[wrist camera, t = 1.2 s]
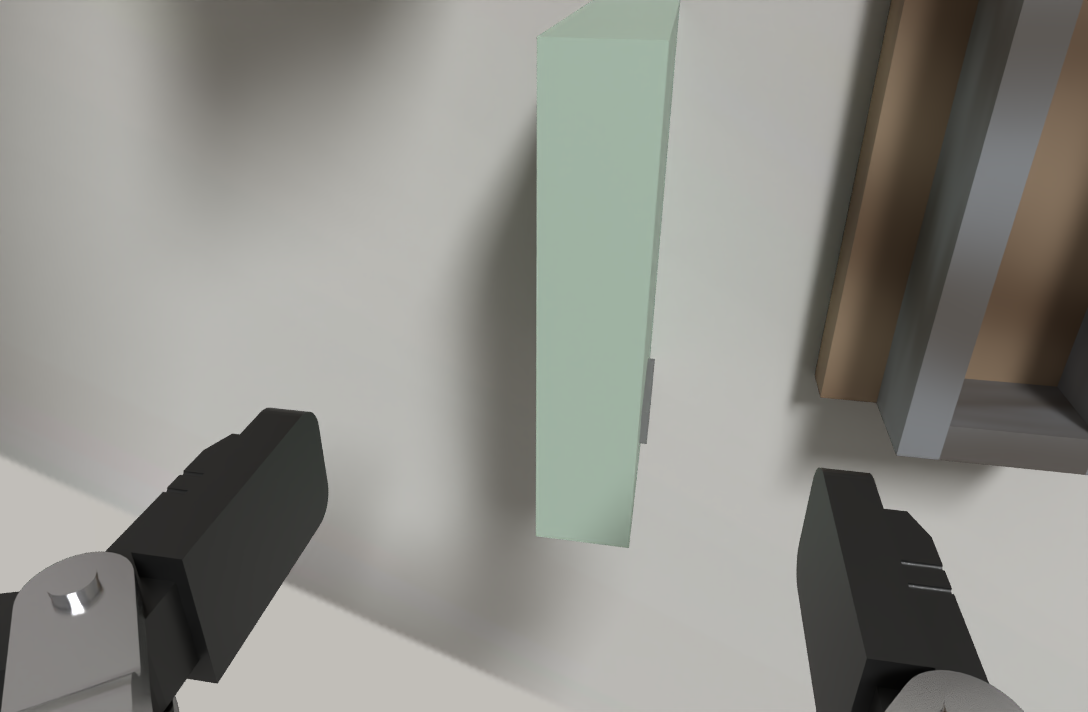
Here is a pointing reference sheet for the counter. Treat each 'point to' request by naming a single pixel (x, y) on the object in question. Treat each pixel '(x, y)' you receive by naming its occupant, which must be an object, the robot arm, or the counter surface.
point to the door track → (971, 237)
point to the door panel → (598, 257)
